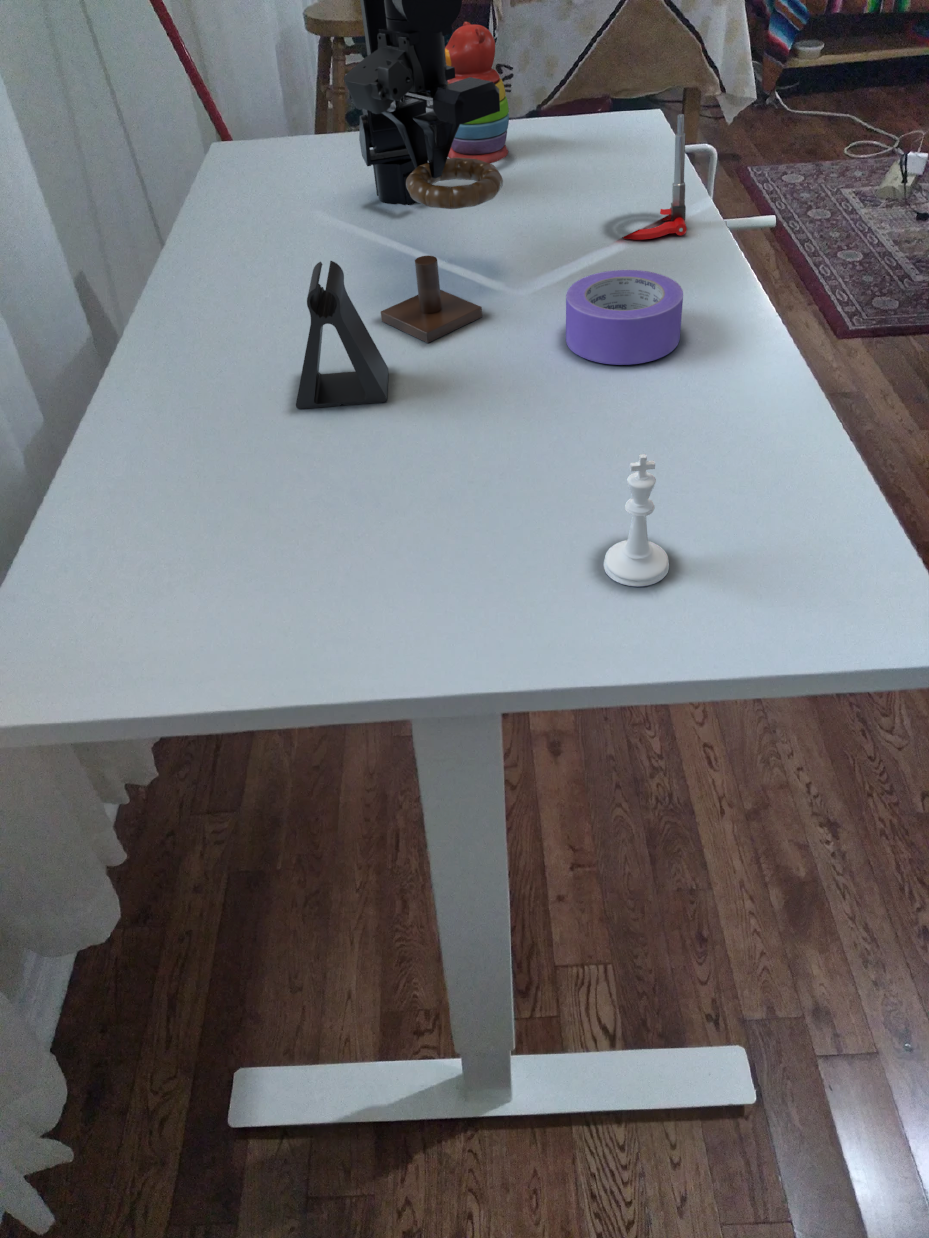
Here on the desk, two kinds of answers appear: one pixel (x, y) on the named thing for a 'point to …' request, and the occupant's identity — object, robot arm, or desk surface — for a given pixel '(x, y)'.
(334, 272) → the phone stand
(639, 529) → the chess piece
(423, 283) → the post
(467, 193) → the ring
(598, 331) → the tape roll
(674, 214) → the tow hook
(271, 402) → the desk surface
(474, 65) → the stacking bear
